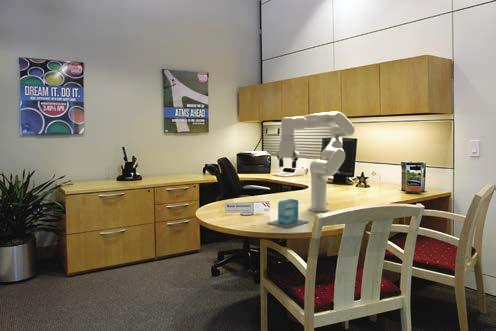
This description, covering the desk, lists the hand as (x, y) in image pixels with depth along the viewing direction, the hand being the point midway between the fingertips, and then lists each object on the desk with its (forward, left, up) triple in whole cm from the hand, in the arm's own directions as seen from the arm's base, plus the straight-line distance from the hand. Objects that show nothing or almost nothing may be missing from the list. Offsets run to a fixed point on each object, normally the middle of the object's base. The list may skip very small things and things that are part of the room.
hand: (287, 167), depth 232 cm
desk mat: (+16, +14, -28) cm, 35 cm away
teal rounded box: (+16, +14, -28) cm, 35 cm away
